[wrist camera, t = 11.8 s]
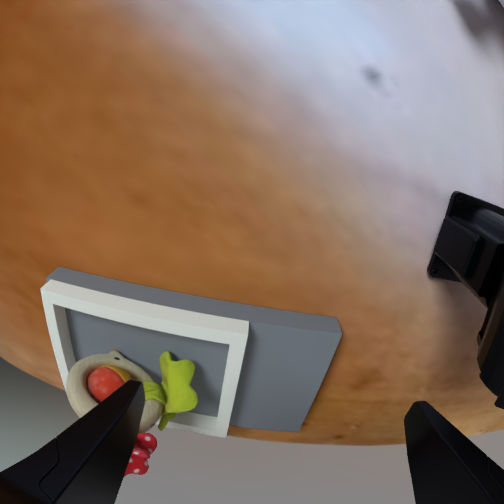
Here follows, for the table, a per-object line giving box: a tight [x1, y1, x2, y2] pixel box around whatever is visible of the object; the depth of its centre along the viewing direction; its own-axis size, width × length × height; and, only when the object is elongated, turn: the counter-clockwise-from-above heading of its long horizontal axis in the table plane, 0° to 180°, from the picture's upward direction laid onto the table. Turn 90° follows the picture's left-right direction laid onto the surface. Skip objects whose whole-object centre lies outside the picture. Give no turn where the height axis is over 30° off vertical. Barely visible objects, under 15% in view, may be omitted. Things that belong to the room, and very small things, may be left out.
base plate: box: [40, 267, 342, 438], centre depth 23 cm, size 22×12×4 cm, turn 80°
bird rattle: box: [66, 350, 198, 476], centre depth 19 cm, size 6×11×9 cm
